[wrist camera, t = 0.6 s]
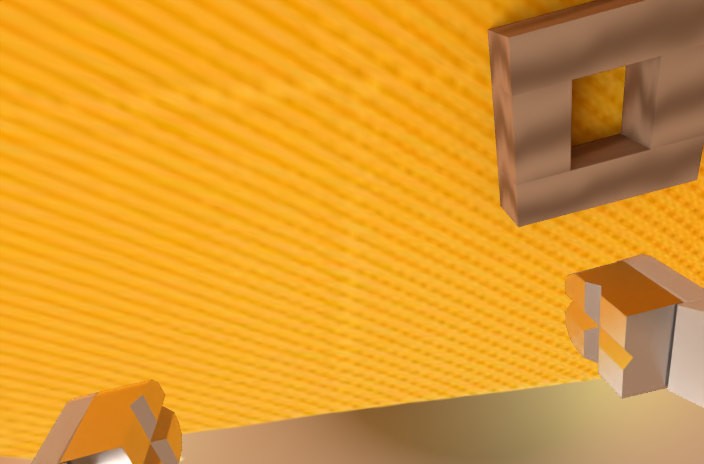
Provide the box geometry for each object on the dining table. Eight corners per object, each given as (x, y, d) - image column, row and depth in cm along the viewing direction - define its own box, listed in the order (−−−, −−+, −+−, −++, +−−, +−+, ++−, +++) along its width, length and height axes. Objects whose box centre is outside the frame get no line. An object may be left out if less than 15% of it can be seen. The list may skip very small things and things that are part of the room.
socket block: (487, 30, 45) (508, 37, 40) (690, -26, 44) (733, -24, 40) (500, 206, 55) (518, 227, 51) (665, 162, 55) (697, 179, 50)
